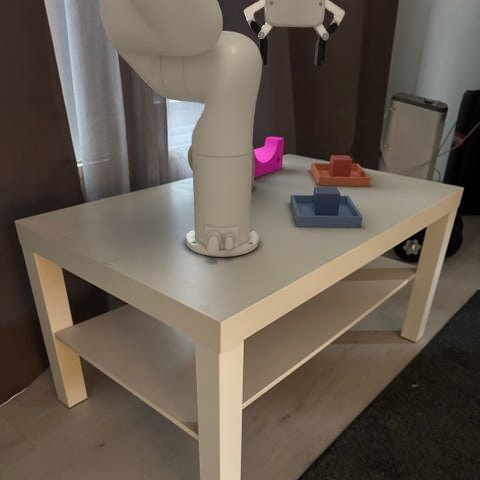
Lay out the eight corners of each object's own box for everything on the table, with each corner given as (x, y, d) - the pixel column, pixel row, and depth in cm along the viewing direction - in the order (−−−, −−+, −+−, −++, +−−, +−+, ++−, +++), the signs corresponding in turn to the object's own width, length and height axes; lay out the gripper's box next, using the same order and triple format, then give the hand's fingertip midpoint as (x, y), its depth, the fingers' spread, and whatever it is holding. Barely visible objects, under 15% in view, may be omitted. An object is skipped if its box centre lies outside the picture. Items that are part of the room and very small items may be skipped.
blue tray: (360, 227, 91) (362, 217, 90) (296, 226, 91) (297, 216, 90) (347, 204, 103) (348, 195, 102) (290, 203, 102) (290, 194, 101)
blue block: (337, 216, 95) (340, 193, 93) (315, 216, 95) (317, 193, 93) (333, 208, 99) (336, 186, 96) (312, 208, 99) (314, 186, 96)
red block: (350, 178, 118) (352, 159, 116) (331, 178, 118) (333, 159, 116) (346, 173, 122) (348, 155, 119) (328, 173, 122) (330, 155, 119)
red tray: (369, 186, 115) (370, 177, 113) (318, 185, 114) (319, 177, 113) (357, 171, 126) (358, 163, 125) (310, 170, 126) (311, 162, 124)
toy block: (262, 164, 131) (264, 134, 127) (282, 168, 127) (283, 138, 124) (228, 175, 121) (228, 144, 117) (247, 179, 117) (248, 148, 113)
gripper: (347, -51, 81) (334, 64, 91) (244, -53, 81) (242, 62, 90) (356, -56, 75) (342, 67, 84) (245, -59, 75) (243, 65, 84)
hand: (290, 64), depth 87 cm, fingers open, 9 cm apart
